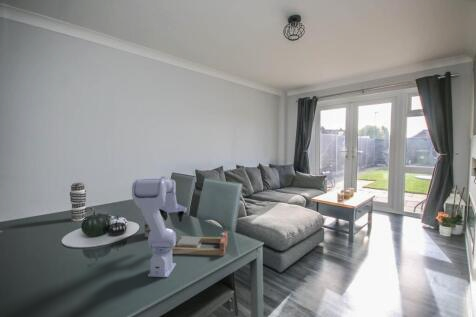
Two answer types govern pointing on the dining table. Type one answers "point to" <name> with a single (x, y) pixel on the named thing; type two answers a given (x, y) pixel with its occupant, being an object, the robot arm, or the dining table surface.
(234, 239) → the dining table surface
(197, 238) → the lock block
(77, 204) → the decorative candle
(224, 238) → the coupler track
